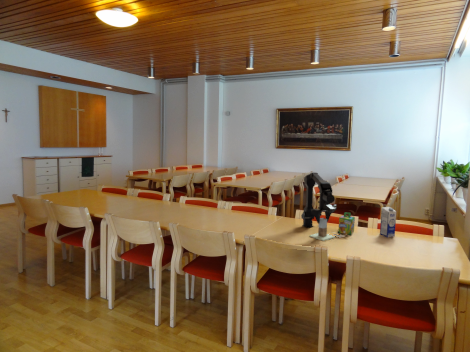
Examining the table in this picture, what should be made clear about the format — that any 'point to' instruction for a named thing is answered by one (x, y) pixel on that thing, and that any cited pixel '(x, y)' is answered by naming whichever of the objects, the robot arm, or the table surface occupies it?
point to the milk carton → (388, 222)
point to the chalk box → (346, 224)
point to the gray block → (323, 223)
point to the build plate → (322, 237)
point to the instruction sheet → (339, 235)
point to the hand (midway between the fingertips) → (322, 222)
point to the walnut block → (322, 232)
